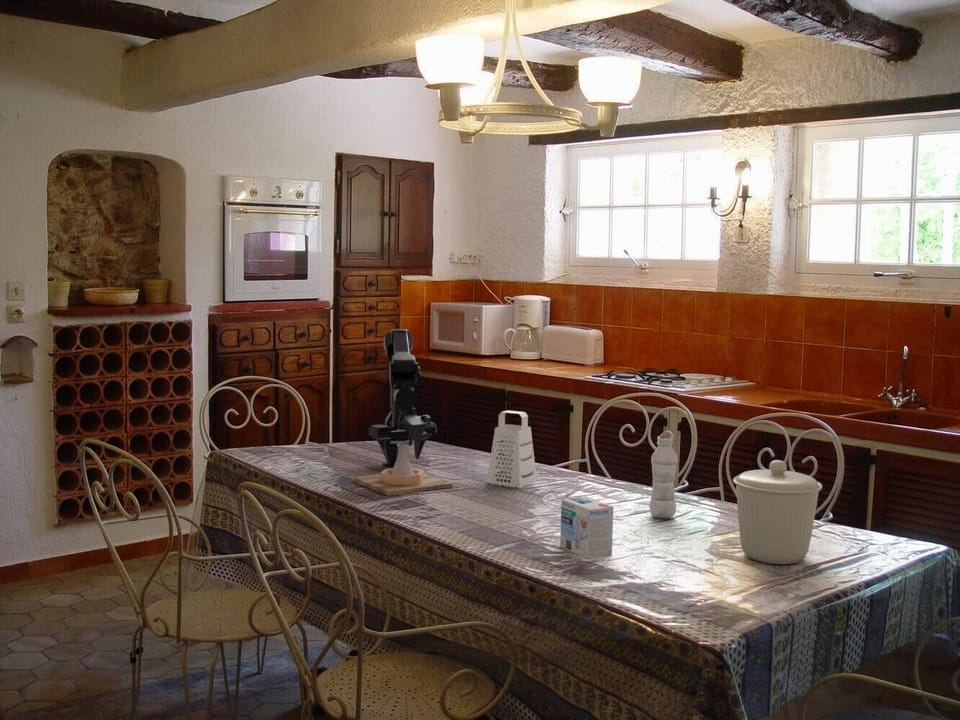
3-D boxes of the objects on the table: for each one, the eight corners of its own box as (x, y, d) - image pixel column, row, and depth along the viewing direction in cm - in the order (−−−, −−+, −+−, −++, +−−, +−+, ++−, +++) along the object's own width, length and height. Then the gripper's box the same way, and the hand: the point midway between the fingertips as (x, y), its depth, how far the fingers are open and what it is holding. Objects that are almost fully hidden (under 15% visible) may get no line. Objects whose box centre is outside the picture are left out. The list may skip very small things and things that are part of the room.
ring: (375, 478, 280) (375, 470, 280) (409, 474, 287) (409, 466, 286) (395, 486, 271) (395, 477, 271) (430, 481, 278) (430, 473, 277)
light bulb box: (558, 547, 221) (560, 498, 220) (584, 543, 224) (585, 495, 223) (587, 559, 211) (588, 509, 210) (613, 555, 215) (614, 506, 214)
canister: (836, 567, 209) (841, 467, 207) (759, 573, 204) (764, 470, 202) (786, 543, 226) (790, 450, 224) (714, 549, 221) (718, 454, 219)
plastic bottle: (646, 519, 245) (649, 438, 243) (651, 513, 252) (654, 434, 250) (673, 522, 243) (676, 440, 241) (677, 516, 249) (680, 436, 248)
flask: (415, 483, 275) (415, 447, 274) (388, 482, 275) (388, 446, 274) (416, 477, 283) (416, 442, 282) (390, 477, 283) (390, 442, 282)
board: (353, 481, 282) (353, 477, 281) (414, 474, 293) (414, 470, 293) (388, 496, 265) (388, 491, 265) (452, 487, 277) (452, 483, 277)
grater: (519, 488, 277) (521, 416, 275) (486, 483, 283) (487, 412, 281) (536, 481, 286) (538, 411, 284) (504, 476, 292) (505, 408, 290)
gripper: (388, 410, 265) (387, 468, 266) (447, 405, 276) (447, 462, 277) (367, 405, 274) (367, 461, 276) (426, 400, 285) (425, 455, 286)
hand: (402, 460), depth 278 cm, fingers open, 9 cm apart
